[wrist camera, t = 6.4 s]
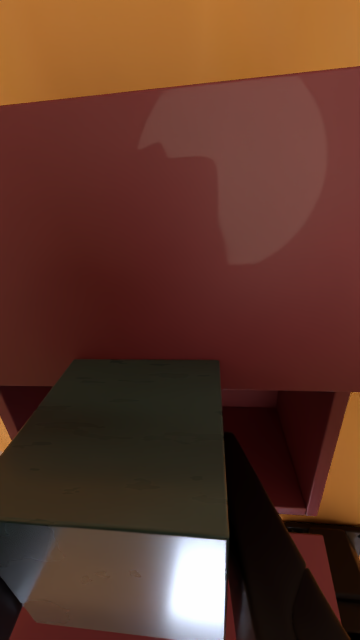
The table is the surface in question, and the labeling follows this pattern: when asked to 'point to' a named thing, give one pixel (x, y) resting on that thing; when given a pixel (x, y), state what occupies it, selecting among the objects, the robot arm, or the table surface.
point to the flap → (37, 636)
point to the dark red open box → (193, 253)
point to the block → (121, 501)
